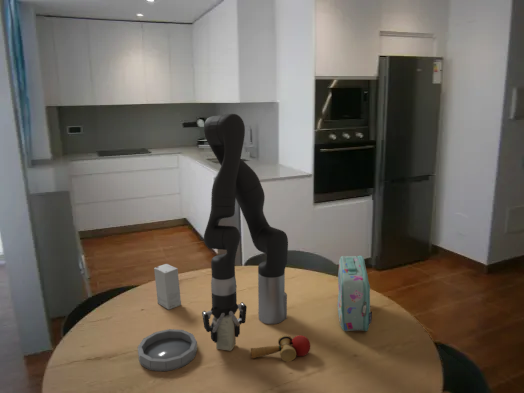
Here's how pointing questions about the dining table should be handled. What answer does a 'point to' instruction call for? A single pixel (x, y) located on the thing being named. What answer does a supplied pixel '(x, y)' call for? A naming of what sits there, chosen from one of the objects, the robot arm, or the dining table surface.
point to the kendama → (285, 348)
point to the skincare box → (167, 286)
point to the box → (226, 334)
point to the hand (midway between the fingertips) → (225, 338)
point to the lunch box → (353, 294)
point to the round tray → (167, 350)
